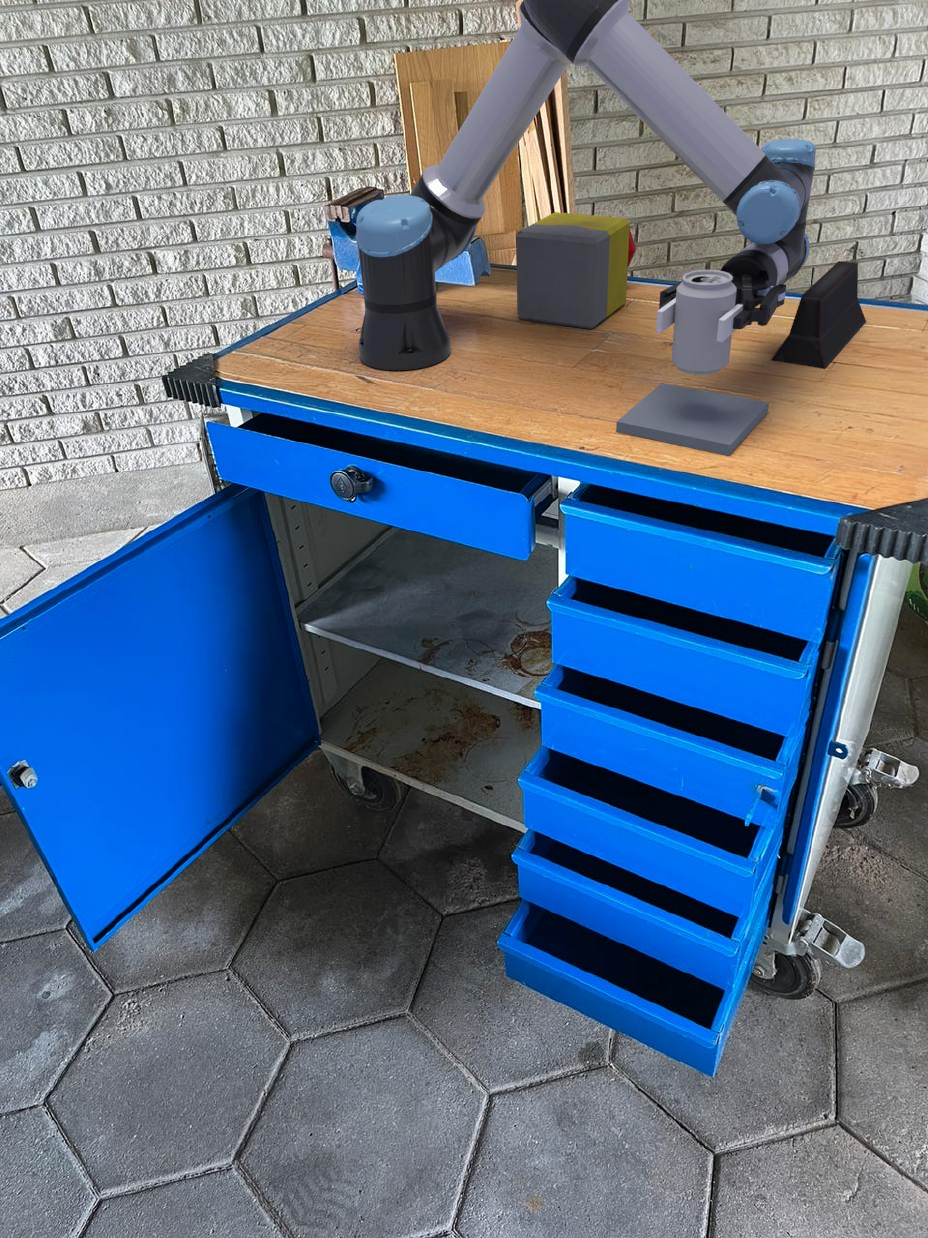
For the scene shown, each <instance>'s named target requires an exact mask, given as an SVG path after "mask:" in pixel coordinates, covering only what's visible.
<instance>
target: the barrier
mask: <svg viewBox="0 0 928 1238" xmlns="http://www.w3.org/2000/svg"><path fill="white" fill-rule="evenodd" d="M858 277H859V263H858V262H851V261H841V260H838V261H837V262H836V263H835V264H834V265H833V266H832V267H831V268H829V270H828V271H826V273H824V274H823V275H822V276H821V277H819V278H818V280H817V281H816V282H814V284H812V285H811V286H810V288H809V287H808V289H807V290H806V291H805V292H804V293H802V295H801V296H800V300H799V304H798V306H797V310H796V313H795V315H794V319H793V321H792V325H791V328H790V331H789V333H788V336H786V338H785V339H784V341H783V343H782V344H781V345H780V347H779V348H778V350H777V351H776V352H775V354H774V355H773V357H771V359H770V361H772V362H777V363H778V362H779V363H785V364H786V363H787V364H791V365H798V366H803V367H804V366H805V367H810V368H814V369H823V370H825V369H827V368H828V367H829V365H831V364H832V362H833V361H834V359H836V358H837V356H838V355H839V354H840V353H841V352H842V351H843V349H844V348H846V346H847V345H848V344H849V342H850V341H852V340H853V338H854V337H855V336H856V335H857V333H859V331H860V330H861V329H862V328H863V326H864V325H865V324H866V323H867V319H866V317H865V315H864V311H863V309H862V307H861V304H860V301H859V298H858V297H859V296H858V291H859V290H858V287H859V286H858V283H859V281H858V279H859V278H858ZM860 328H861V329H860Z"/></svg>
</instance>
